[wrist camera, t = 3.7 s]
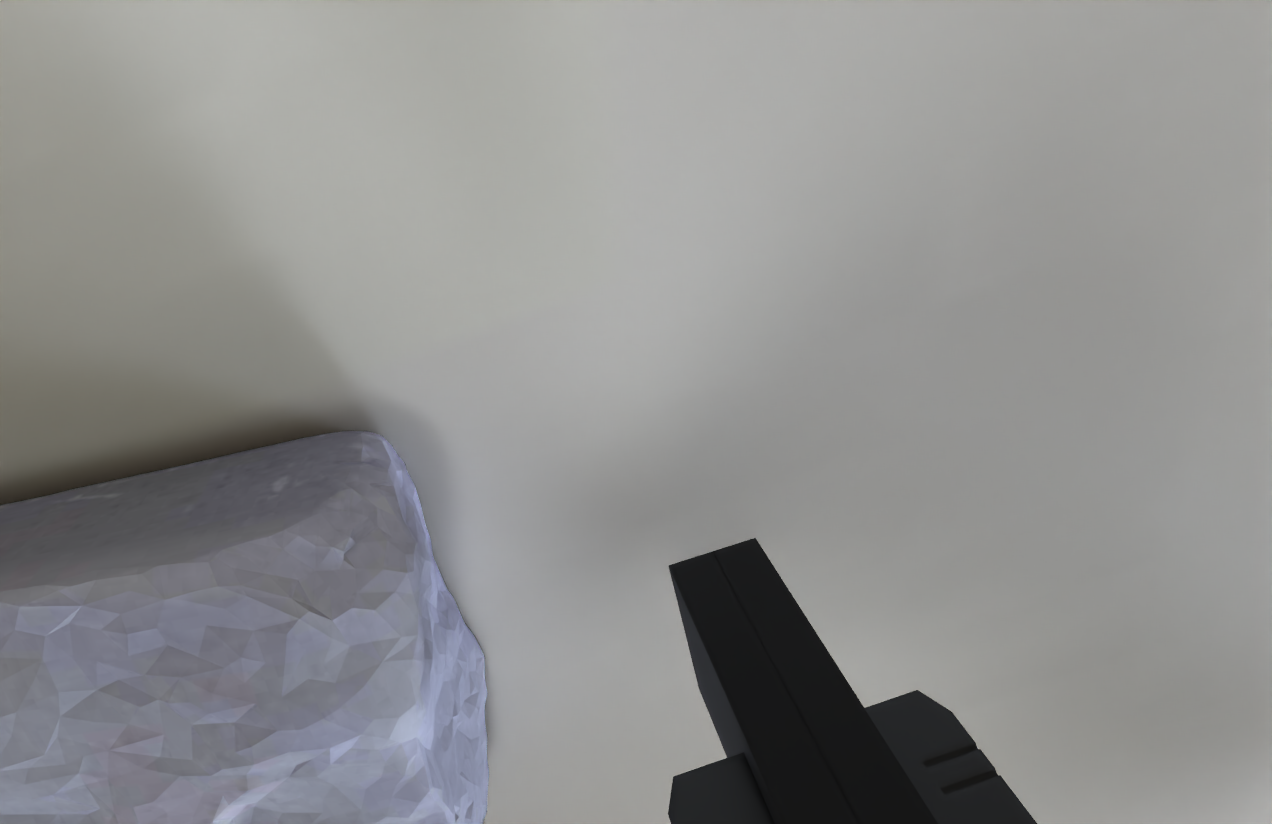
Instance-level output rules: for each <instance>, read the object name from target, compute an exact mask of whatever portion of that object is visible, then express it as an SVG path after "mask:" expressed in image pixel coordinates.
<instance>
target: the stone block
mask: <svg viewBox="0 0 1272 824" xmlns="http://www.w3.org/2000/svg"><path fill="white" fill-rule="evenodd" d="M487 694H488V692H487V687H486V682H485V662H484V654H483V652H482V650H481V648H480V646H479V644H478V642H477V640H476V638H475V636H474V635H473V634H472V632H471V631H470V630H469V628H468V627H467V626H466V624H465V623H464V621H463V618H462V616H461V613H460V611H459V609H458V606H457V604H456V602H455V600H454V598H453V596H452V595H451V593H450V592H449V591H448V590H447V587H446V585H445V583H444V580H443V578H442V576H441V574H440V571H439V569H438V566H437V564H436V562H435V559H434V557H433V553H432V544H431V539H430V536H429V533H428V530H427V528H426V525H425V521H424V516H423V512H422V507H421V504H420V501H419V498H418V494H417V491H416V487H415V485H414V483H413V481H412V479H411V477H410V476H409V474H408V472H407V469H406V464H405V463H404V461H403V460H402V459H401V458H400V457H399V456H398V455H397V453H396V452H395V450H394V448H393V446H392V445H391V444H390V443H389V442H388V441H387V440H386V439H385V438H384V437H383V436H381V435H378V434H375V433H373V432H369V431H362V432H360V431H342V432H335V433H328V434H322V435H317V436H312V437H306V438H301V439H297V440H293V441H288V442H284V443H279V444H275V445H271V446H266V447H262V448H257V449H253V450H248V451H243V452H239V453H234V454H230V455H226V456H222V457H217V458H213V459H209V460H204V461H200V462H196V463H191V464H187V465H182V466H178V467H173V468H169V469H164V470H160V471H155V472H150V473H146V474H140V475H136V476H132V477H128V478H123V479H118V480H113V481H109V482H104V483H99V484H95V485H90V486H85V487H81V488H76V489H71V490H67V491H64V492H60V493H56V494H52V495H48V496H43V497H38V498H34V499H29V500H25V501H20V502H15V503H9V504H3V505H0V824H483V821H484V818H485V815H486V813H487V795H488V780H489V768H488V761H487V731H486V726H485V711H484V707H485V702H486V698H487Z"/></svg>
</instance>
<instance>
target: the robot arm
mask: <svg viewBox="0 0 1272 824" xmlns="http://www.w3.org/2000/svg"><path fill="white" fill-rule="evenodd" d="M669 569H670V573H671V577H672V581H673V585H674V589H675V593H676V597H677V601H678V605H679V610H680V614H681V618H682V622H683V626H684V630H685V634H686V638H687V642H688V646H689V650H690V654H691V658H692V662H693V666H694V670H695V674H696V678H697V682H698V686H699V689H700V692H701V694H702V697H703V699H704V702H705V704H706V707H707V709H708V711H709V714H710V716H711V719H712V721H713V724H714V726H715V729H716V731H717V733H718V736H719V738H720V741H721V743H722V746H723V748H724V751H725V753H726V755H727V758H726V759H723V760H720V761H717V762H714V763H711V764H709V765H706V766H703V767H700V768H697V769H694V770H691V771H688V772H685V773H682V774H680V775H677V776H674V777H673V783H672V790H671V797H670V804H669V811H668V815H669V818H670V821H671V824H1037V823H1036V822H1035V820H1034V819H1033V818H1032V816H1031V815H1030V814H1029V812H1028V811H1027V810H1026V808H1025V807H1024V806H1023V805H1022V803H1021V802H1020V801H1019V799H1018V798H1017V797H1016V795H1015V794H1014V793H1013V791H1012V790H1011V789H1010V788H1009V786H1008V785H1007V784H1006V782H1005V781H1004V780H1003V778H1002V777H1001V776H998V775H997V773H996V770H995V768H994V767H993V765H992V764H991V763H990V761H989V760H988V759H987V757H986V756H985V755H984V753H983V752H982V751H981V750H980V749H978V748H977V746H976V743H975V742H974V740H973V739H972V738H971V736H970V735H969V734H968V733H967V731H966V730H965V729H964V727H963V726H962V725H961V723H960V722H959V721H958V719H957V718H956V717H955V716H954V714H953V713H952V712H951V711H949V710H948V709H946V708H945V707H943V706H942V705H940V704H939V703H937V702H935V701H934V700H932V699H931V698H929V697H928V696H926V695H924V694H923V693H921V692H920V691H918V690H916V691H913V692H910V693H907V694H904V695H901V696H898V697H896V698H893V699H890V700H887V701H884V702H881V703H878V704H875V705H872V706H870V707H867V708H864V707H863V705H862V704H861V702H860V701H859V699H858V698H857V696H856V694H855V693H854V691H853V690H852V688H851V687H850V685H849V684H848V682H847V680H846V679H845V677H844V676H843V674H842V673H841V671H840V669H839V668H838V666H837V665H836V663H835V662H834V660H833V659H832V657H831V655H830V654H829V652H828V651H827V649H826V648H825V646H824V644H823V643H822V641H821V640H820V638H819V637H818V635H817V634H816V632H815V630H814V629H813V627H812V626H811V624H810V623H809V621H808V619H807V618H806V616H805V615H804V613H803V612H802V610H801V609H800V607H799V605H798V604H797V602H796V601H795V599H794V598H793V596H792V594H791V593H790V591H789V590H788V588H787V587H786V585H785V584H784V582H783V580H782V579H781V577H780V576H779V574H778V573H777V571H776V569H775V568H774V566H773V565H772V563H771V562H770V560H769V559H768V557H767V555H766V554H765V552H764V551H763V549H762V548H761V546H760V544H759V543H758V541H757V540H756V538H754V539H750V540H747V541H744V542H741V543H738V544H735V545H732V546H728V547H725V548H722V549H719V550H716V551H713V552H710V553H707V554H703V555H700V556H697V557H694V558H691V559H688V560H685V561H682V562H678V563H675V564H672V565H669Z"/></svg>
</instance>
